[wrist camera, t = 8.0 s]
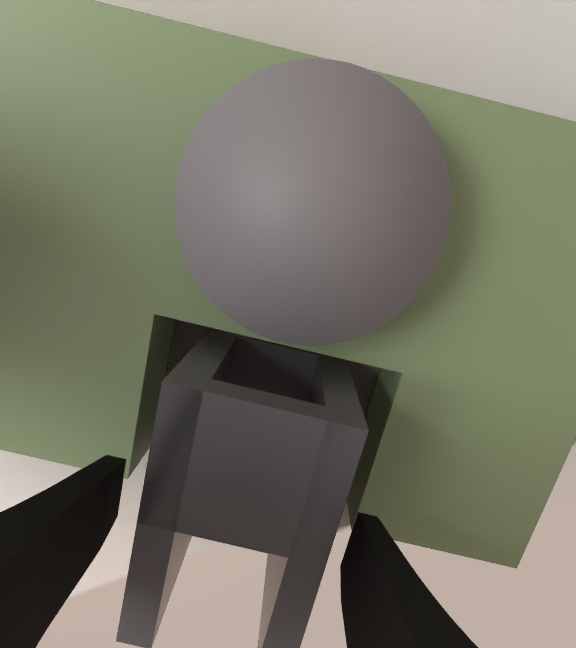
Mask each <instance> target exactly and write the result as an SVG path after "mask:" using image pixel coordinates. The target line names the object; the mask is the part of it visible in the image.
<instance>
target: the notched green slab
mask: <svg viewBox="0 0 576 648" xmlns="http://www.w3.org/2000/svg"><path fill="white" fill-rule="evenodd" d="M175 319H177V320H181V321H185V322H190V323H194V324H198V325H202V326H206V327H211V328H215V329H219V330H223V331H227V332H232V333H236V334H240V335H244V336H248V337H252V338H257V339H261V340H265V341H269V342H273V343H278V344H282V345H286V346H290V347H294V348H299V349H303V350H307V351H311V352H315V353H320V354H324V355H328V356H332V357H336V358H341V359H345V360H349V361H353V362H357V363H362V364H366V365H370V366H374V367H378V368H381V370H380V373H379V377H378V380H377V383H376V386H375V390H374V393H373V396H372V399H371V402H370V406H369V409H368V412H367V415H366V419H365V420H366V424H367V427H368V430H369V431H368V435H367V438H366V441H365V444H364V447H363V450H362V453H361V457H360V460H359V463H358V466H357V469H356V472H355V475H354V479H353V482H352V485H351V488H350V491H349V494H348V498H347V504H348V510H349V516H350V523H351V529H353V526H354V523H355V520H356V517H357V514H358V512H360V513H365V514H369V515H373V516H377V517H378V518H379V519H380V521H381V522H382V524H383V525H384V527H385V528H386V530H387V531H388V533H389V534H390V536H391V537H392V539H393V540H396V541H401V542H405V543H409V544H413V545H418V546H422V547H426V548H431V549H435V550H440V551H444V552H448V553H453V554H457V555H461V556H465V557H470V558H474V559H479V560H483V561H487V562H491V563H496V564H500V565H505V566H509V567H513V568H517V566H518V564H519V562H520V560H521V558H522V555H523V553H524V551H525V549H526V546H527V544H528V542H529V540H530V538H531V535H532V533H533V531H534V529H535V527H536V524H537V522H538V520H539V518H540V515H541V513H542V511H543V509H544V507H545V505H546V502H547V500H548V498H549V496H550V493H551V491H552V489H553V487H554V485H555V482H556V480H557V478H558V476H559V474H560V471H561V469H562V467H563V465H564V463H565V460H566V458H567V456H568V454H569V451H570V449H571V447H572V445H573V443H574V440H575V438H576V122H574V121H570V120H566V119H562V118H558V117H554V116H550V115H546V114H542V113H538V112H534V111H530V110H526V109H522V108H518V107H514V106H510V105H507V104H503V103H499V102H495V101H491V100H487V99H483V98H479V97H475V96H471V95H467V94H463V93H459V92H455V91H451V90H447V89H443V88H439V87H435V86H431V85H427V84H423V83H419V82H415V81H411V80H407V79H403V78H399V77H396V76H392V75H388V74H384V73H380V72H376V71H372V70H368V69H366V68H363V67H359V66H356V65H353V64H350V63H347V62H342V61H336V60H330V59H324V58H320V57H316V56H312V55H308V54H304V53H300V52H296V51H292V50H288V49H285V48H281V47H277V46H273V45H269V44H265V43H261V42H257V41H253V40H249V39H245V38H241V37H237V36H233V35H229V34H225V33H221V32H217V31H213V30H209V29H205V28H201V27H197V26H193V25H189V24H185V23H181V22H177V21H174V20H170V19H166V18H162V17H158V16H154V15H150V14H146V13H142V12H138V11H134V10H130V9H126V8H122V7H118V6H114V5H110V4H106V3H102V2H98V1H94V0H0V449H1V450H5V451H10V452H14V453H18V454H23V455H27V456H31V457H36V458H40V459H44V460H49V461H53V462H57V463H62V464H66V465H70V466H75V467H79V468H84V467H86V466H88V465H89V464H91V463H93V462H95V461H96V460H98V459H100V458H102V457H103V456H105V455H110V456H115V457H119V458H124V459H126V465H125V471H124V478H127V479H128V478H129V476H130V475H131V473H132V472H133V470H134V469H135V468H136V466H137V465H138V463H139V462H140V460H141V459H142V457H143V456H144V455H145V453H146V452H147V450H148V449H149V447H150V446H151V440H152V435H153V429H154V423H155V418H156V412H157V406H158V401H159V395H160V389H161V384H162V381H163V380H164V378H165V373H166V368H167V362H168V356H169V351H170V345H171V339H172V333H173V328H174V322H175Z"/></svg>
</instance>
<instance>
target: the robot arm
mask: <svg viewBox="0 0 576 648" xmlns="http://www.w3.org/2000/svg"><path fill="white" fill-rule="evenodd" d="M125 465H126V459H124V458H119V457H115V456H110V455H105V456H103V457H102V458H100V459H98V460H96V461H95V462H93V463H91V464H89V465H88V466H86V467H84V468H83V469H81V470H79V471H78V472H76V473H74V474H72V475H71V476H69V477H67V478H66V479H64V480H62V481H60V482H58V483H57V484H55V485H53V486H51V487H50V488H48V489H46V490H44V491H42V492H40V493H38V494H36V495H34V496H32V497H30V498H28V499H27V500H25V501H23V502H21V503H19V504H17V505H15V506H13V507H11V508H9V509H6V510H4V511H2V512H0V648H36V646H37V644H38V642H39V641H40V639H41V638H42V636H43V635H44V633H45V631H46V630H47V628H48V627H49V625H50V623H51V622H52V620H53V619H54V617H55V616H56V615H57V613H58V612H59V610H60V609H61V607H62V606H63V604H64V603H65V601H66V600H67V598H68V597H69V595H70V594H71V592H72V591H73V589H74V588H75V586H76V585H77V583H78V582H79V580H80V579H81V577H82V576H83V574H84V573H85V571H86V570H87V568H88V567H89V565H90V564H91V562H92V561H93V559H94V558H95V556H96V555H97V553H98V552H99V550H100V549H101V547H102V545H103V543H104V541H105V539H106V537H107V536H108V534H109V532H110V530H111V528H112V526H113V524H114V522H115V520H116V518H117V516H118V509H119V503H120V497H121V490H122V484H123V478H124V471H125ZM340 568H341V569H340V570H341V604H342V613H343V620H344V628H345V635H346V643H347V648H478V647H477V646H476V645H475V644H474V643H473V642H472V641H471V640H470V639H469V637H468V636H467V635H466V634H465V633H464V632H463V631H462V630H461V628H460V627H458V625H457V624H456V623H455V622H454V621H453V619H452V618H451V617H450V616H449V615H448V614H447V612H446V611H445V610H444V609H443V608H442V606H441V605H440V604H439V602H438V601H437V600H436V599H435V597H434V596H433V595H432V594H431V592H430V591H429V590H428V588H427V587H426V586H425V585H424V583H423V582H422V581H421V579H420V578H419V577H418V575H417V574H416V572H415V571H414V569H413V568H412V567H411V565H410V564H409V562H408V561H407V559H406V558H405V557H404V555H403V554H402V552H401V551H400V549H399V548H398V546H397V545H396V543H395V542H394V540H393V539H392V537H391V536H390V534H389V533H388V531H387V530H386V528H385V527H384V525H383V524H382V522H381V521H380V519H379V518H378V517H377V516H373V515H369V514H365V513H360V512H358V514H357V517H356V520H355V523H354V526H353V529H352V532H351V536H350V538H349V542H348V545H347V548H346V551H345V554H344V557H343V560H342V563H341V566H340Z"/></svg>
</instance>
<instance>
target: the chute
mask: <svg viewBox="0 0 576 648" xmlns="http://www.w3.org/2000/svg"><path fill="white" fill-rule="evenodd" d="M368 431H369V430H368V427H367V424H366V420H365V417H364V414H363V411H362V408H361V405H360V402H359V399H358V395H357V392H356V389H355V386H354V383H353V380H352V377H351V374H350V371H349V367H348V364H347V361H346V360H345V359H341V358H336V357H332V356H328V355H324V354H320V353H315V352H311V351H307V350H303V349H299V348H294V347H290V346H286V345H282V344H278V343H273V342H269V341H265V340H261V339H257V338H252V337H248V336H244V335H240V334H236V333H232V332H227V331H223V330H219V329H215V328H210V329H209V331H208V332H207V333H206V334H205V335H204V336H203V337H202V338H201V339H200V340H199V341H198V343H197V344H196V345H195V346H194V347H193V348H192V349H191V350H190V351H189V352H188V353H187V355H186V356H185V357H184V358H183V359H182V360H181V361H180V362H179V363H178V364H177V365H176V366H175V368H174V369H173V370H172V371H171V372H170V373H169V374H168V375H167V376H166V377H165V378H164V380H163V381H162V384H161V389H160V395H159V401H158V406H157V412H156V418H155V423H154V429H153V435H152V440H151V446H150V452H149V457H148V463H147V469H146V474H145V480H144V486H143V491H142V497H141V503H140V508H139V514H138V520H137V525H136V531H135V537H134V542H133V548H132V554H131V559H130V565H129V571H128V576H127V582H126V588H125V593H124V599H123V605H122V610H121V616H120V622H119V627H118V633H117V639H116V641H117V642H122V643H126V644H131V645H135V646H140V647H144V648H151V647H152V644H153V642H154V639H155V636H156V634H157V631H158V628H159V625H160V623H161V620H162V617H163V614H164V611H165V609H166V606H167V603H168V601H169V598H170V595H171V592H172V589H173V587H174V584H175V581H176V578H177V575H178V573H179V570H180V567H181V565H182V562H183V559H184V556H185V554H186V551H187V548H188V545H189V542H190V540H191V537H192V536H196V537H200V538H204V539H208V540H213V541H217V542H221V543H226V544H230V545H234V546H239V547H243V548H247V549H252V550H256V551H260V552H265V553H268V558H267V567H266V576H265V586H264V595H263V603H262V613H261V622H260V631H259V641H258V648H300V645H301V642H302V639H303V636H304V633H305V630H306V626H307V623H308V620H309V617H310V614H311V611H312V608H313V604H314V601H315V598H316V595H317V592H318V589H319V586H320V582H321V579H322V576H323V573H324V570H325V567H326V564H327V560H328V557H329V554H330V551H331V548H332V545H333V541H334V538H335V535H336V532H337V529H338V526H339V523H340V520H341V516H342V513H343V510H344V507H345V504H346V501H347V498H348V494H349V491H350V488H351V485H352V482H353V479H354V475H355V472H356V469H357V466H358V463H359V460H360V457H361V453H362V450H363V447H364V444H365V441H366V438H367V435H368Z"/></svg>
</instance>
